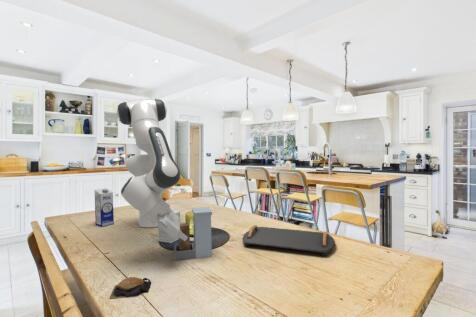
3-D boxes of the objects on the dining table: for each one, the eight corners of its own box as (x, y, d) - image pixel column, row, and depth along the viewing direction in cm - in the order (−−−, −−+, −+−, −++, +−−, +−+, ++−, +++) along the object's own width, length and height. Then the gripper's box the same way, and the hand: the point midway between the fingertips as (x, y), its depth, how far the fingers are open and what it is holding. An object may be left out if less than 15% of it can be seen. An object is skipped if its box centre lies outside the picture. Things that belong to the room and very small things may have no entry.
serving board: (335, 239, 115) (334, 226, 114) (335, 260, 93) (335, 244, 93) (252, 231, 128) (252, 219, 128) (236, 248, 107) (236, 233, 106)
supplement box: (181, 238, 119) (180, 211, 118) (170, 243, 112) (170, 215, 111) (168, 236, 122) (168, 210, 121) (157, 241, 115) (157, 213, 115)
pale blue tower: (174, 261, 94) (172, 214, 93) (173, 252, 102) (172, 209, 102) (212, 256, 97) (212, 211, 97) (209, 248, 106) (208, 206, 105)
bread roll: (108, 302, 70) (107, 289, 70) (115, 286, 78) (115, 274, 78) (149, 296, 72) (148, 284, 72) (152, 281, 80) (151, 270, 80)
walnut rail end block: (179, 257, 97) (178, 226, 96) (179, 253, 101) (178, 223, 100) (190, 256, 98) (189, 225, 97) (189, 252, 102) (188, 222, 101)
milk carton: (108, 222, 148) (106, 187, 147) (114, 224, 144) (113, 188, 143) (95, 225, 142) (94, 189, 141) (101, 227, 138) (100, 190, 137)
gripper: (164, 212, 87) (193, 237, 89) (165, 200, 106) (189, 221, 109) (150, 226, 86) (181, 251, 88) (154, 212, 105) (179, 233, 108)
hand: (185, 235), depth 99 cm, fingers open, 8 cm apart
